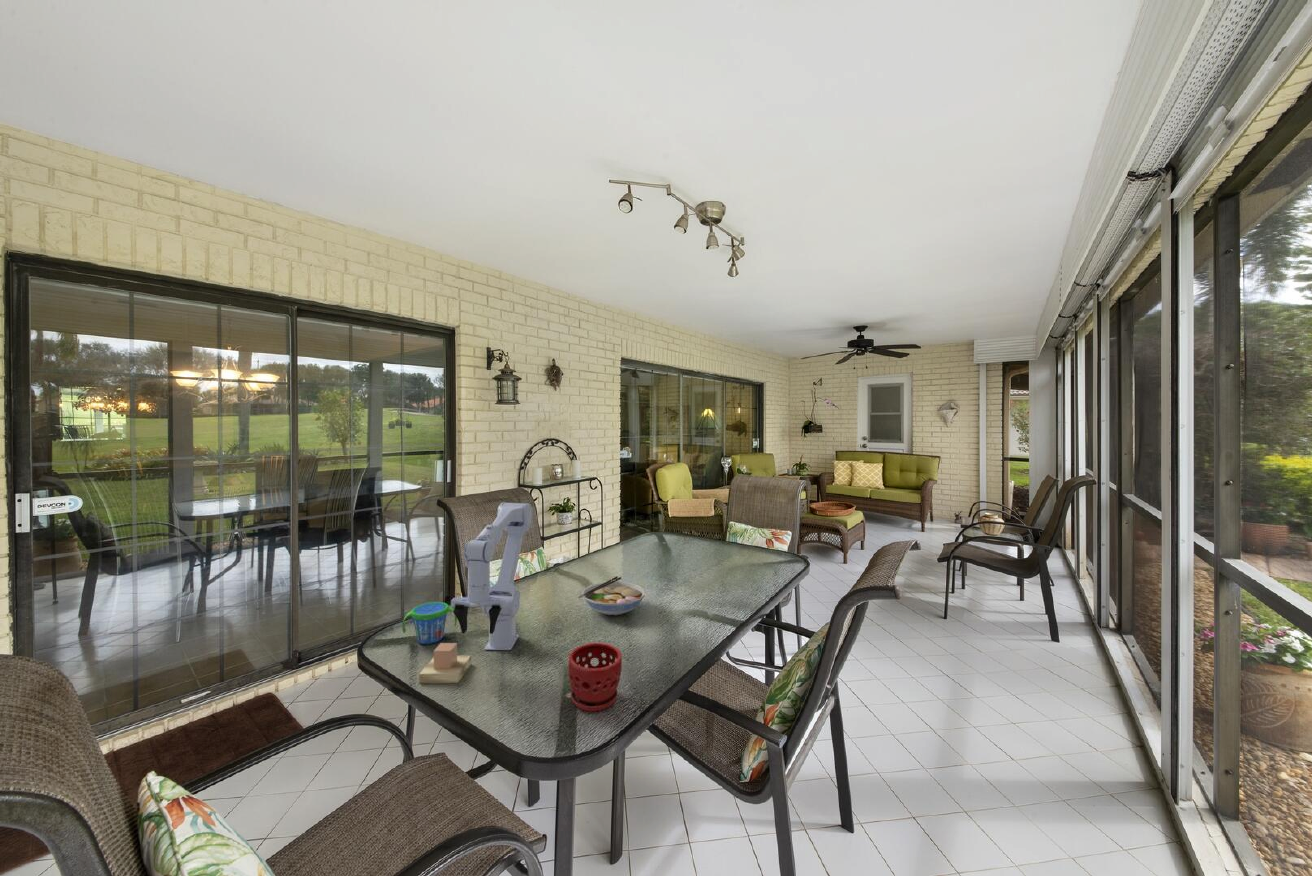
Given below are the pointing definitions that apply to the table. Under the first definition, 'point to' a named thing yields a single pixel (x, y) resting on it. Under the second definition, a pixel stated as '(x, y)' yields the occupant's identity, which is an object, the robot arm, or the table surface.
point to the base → (445, 671)
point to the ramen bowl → (613, 596)
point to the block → (445, 656)
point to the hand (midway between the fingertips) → (478, 632)
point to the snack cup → (429, 621)
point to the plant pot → (594, 676)
